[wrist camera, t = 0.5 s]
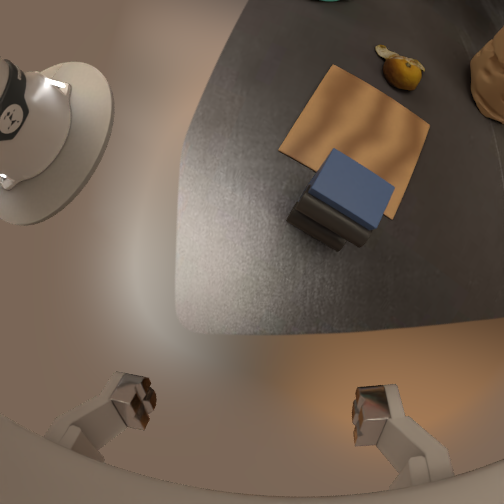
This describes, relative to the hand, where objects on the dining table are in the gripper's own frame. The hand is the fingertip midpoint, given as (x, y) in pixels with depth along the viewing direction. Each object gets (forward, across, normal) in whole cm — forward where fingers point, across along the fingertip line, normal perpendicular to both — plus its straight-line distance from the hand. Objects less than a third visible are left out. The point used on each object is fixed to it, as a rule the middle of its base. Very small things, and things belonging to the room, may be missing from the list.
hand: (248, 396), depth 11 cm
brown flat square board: (+32, -10, -8) cm, 35 cm away
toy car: (+27, -4, +1) cm, 27 cm away
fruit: (+39, -19, -18) cm, 47 cm away
